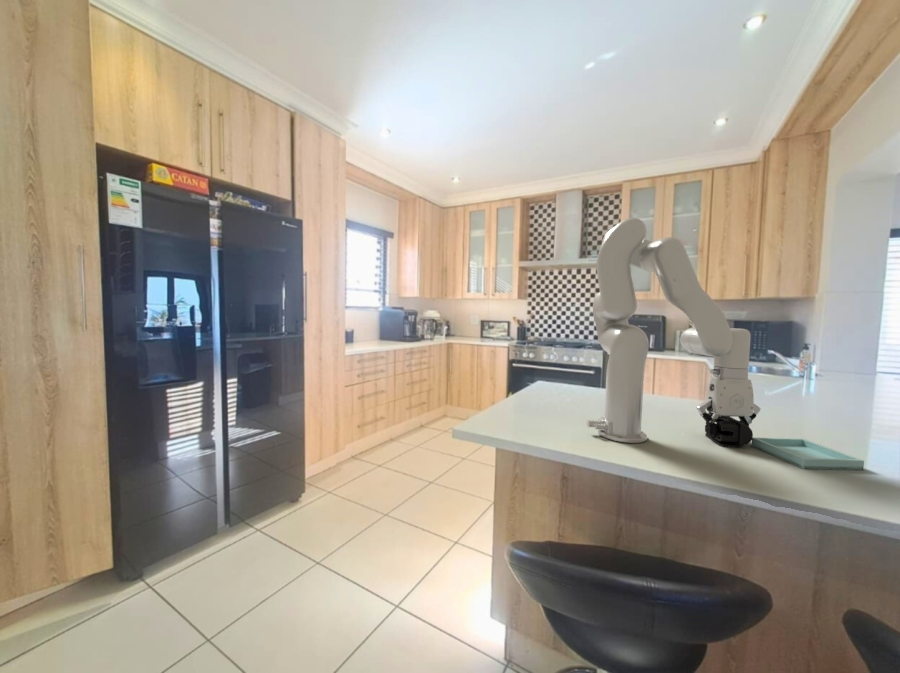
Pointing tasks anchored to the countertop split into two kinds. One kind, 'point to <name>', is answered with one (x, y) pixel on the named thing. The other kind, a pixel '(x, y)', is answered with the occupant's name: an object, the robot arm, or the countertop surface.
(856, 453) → the countertop surface
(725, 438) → the end cap
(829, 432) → the countertop surface
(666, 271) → the robot arm
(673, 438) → the countertop surface
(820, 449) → the tray
